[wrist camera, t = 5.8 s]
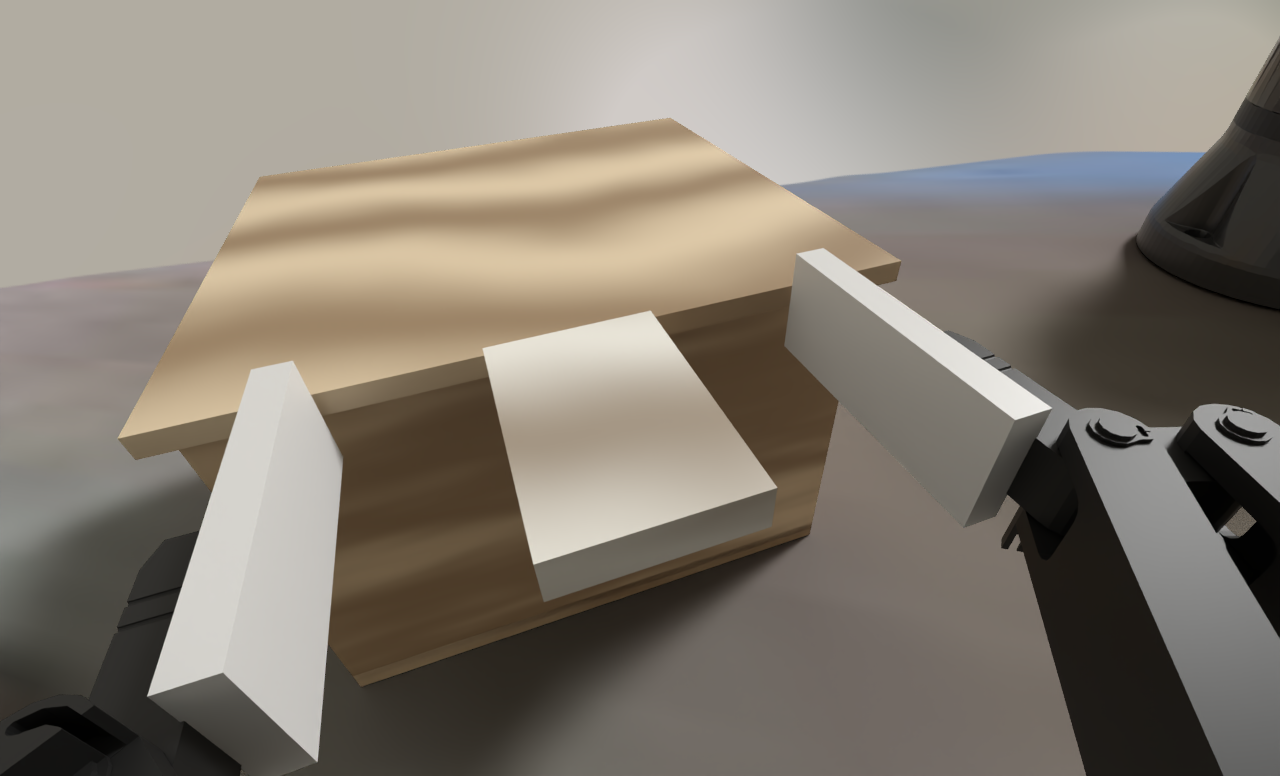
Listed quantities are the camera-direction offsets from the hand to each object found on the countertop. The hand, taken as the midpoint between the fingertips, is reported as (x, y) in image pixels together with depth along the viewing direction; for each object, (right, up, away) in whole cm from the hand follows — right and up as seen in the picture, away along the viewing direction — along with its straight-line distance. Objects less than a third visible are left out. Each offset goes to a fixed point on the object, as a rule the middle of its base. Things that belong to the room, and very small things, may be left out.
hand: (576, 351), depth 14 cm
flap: (-2, +3, +5) cm, 6 cm away
